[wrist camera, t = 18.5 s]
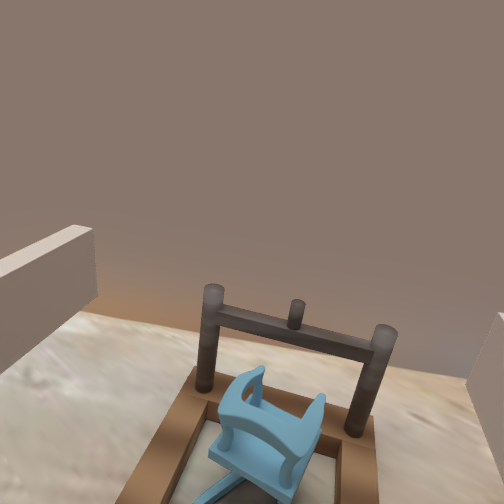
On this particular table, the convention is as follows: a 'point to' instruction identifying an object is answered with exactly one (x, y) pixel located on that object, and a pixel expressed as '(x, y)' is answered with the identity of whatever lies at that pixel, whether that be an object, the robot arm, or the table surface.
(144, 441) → the table surface
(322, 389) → the table surface
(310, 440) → the chair
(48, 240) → the robot arm
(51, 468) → the table surface
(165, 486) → the wooden post frame
